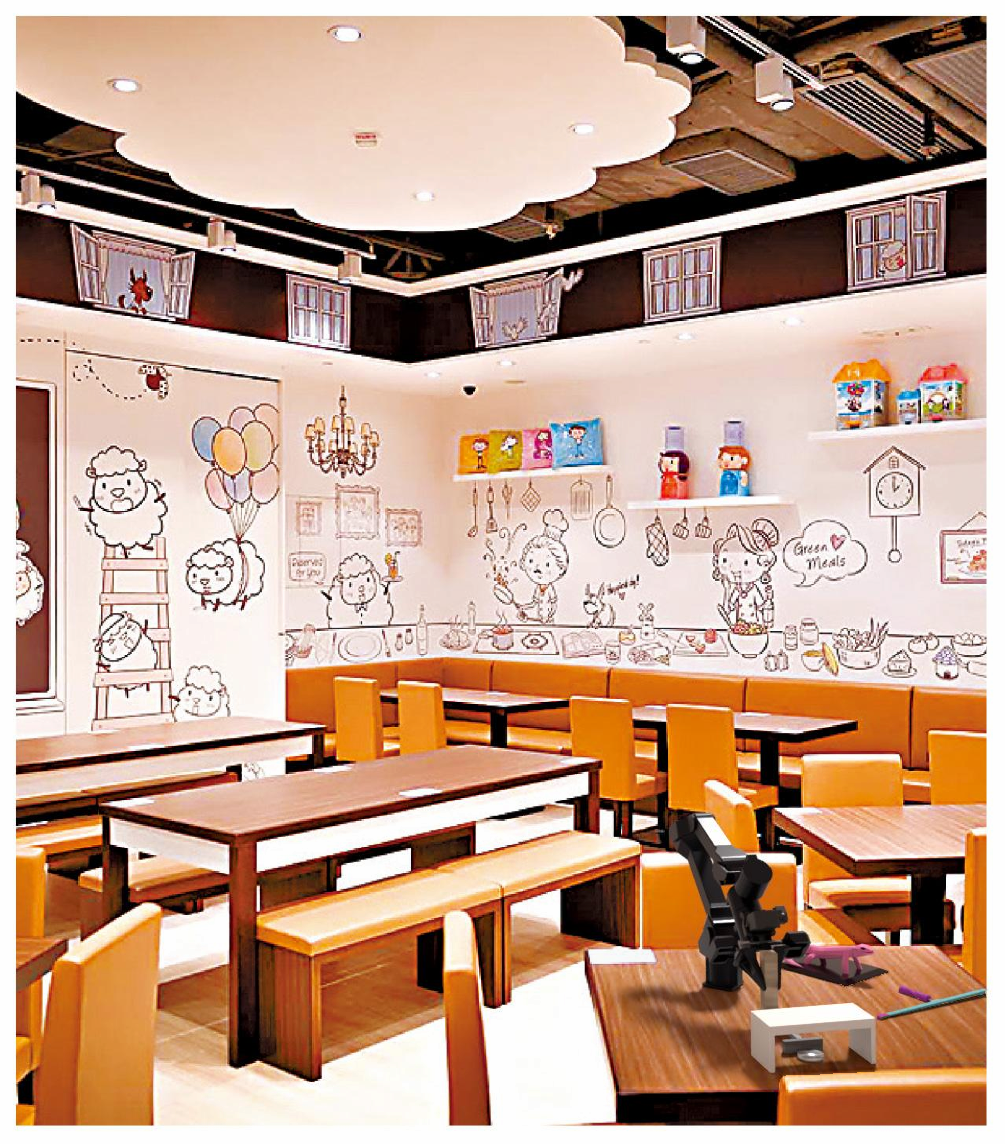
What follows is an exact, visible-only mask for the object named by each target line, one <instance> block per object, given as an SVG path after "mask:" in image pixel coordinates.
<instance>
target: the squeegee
mask: <svg viewBox="0 0 1005 1144" xmlns="http://www.w3.org/2000/svg"><path fill="white" fill-rule="evenodd" d="M985 991H986V988H981V989H976V990H972V991H968V992H964V993H961V994H956V995H953V996H949V997H945V998H941V999H939V998H937V999H932V996H931V995H929V994H926V993H921V992H919V991H916V990H912V989H911V988H909V987H907V986H904V985H900V986H899V988H898V992H899V993H900V992H901V994H903V995H906V996H908V995H910V996H909V997H912V996H913V997H912V998H915V999H917V998H919V999H920V1001H922V1000H923V1001H922V1002H924V1001H925V1002H924V1003H920V1004H917V1005H912V1006H909V1007H905V1008H901V1009H897V1010H894V1011H893V1010H892V1011H888V1012H885V1013H880V1014H877V1015H876V1019H877V1018H878V1019H877V1020H881V1021H882V1020H883V1019H888V1018H889V1017H893V1016H894V1017H895V1016H896V1015H898V1014H899V1015H901V1014H900V1013H903V1014H907V1013H911V1011H912V1012H916V1011H919V1010H918V1009H921V1010H925V1009H928V1008H927V1007H929V1008H932V1007H931V1006H934V1007H937V1006H936V1005H938V1006H941V1005H940V1004H942V1003H946V1002H951V1003H954V1002H953V1001H955V1002H957V1001H956V1000H959V999H962V998H967V997H970V996H974V995H981V994H982V996H984V995H983V994H985ZM919 999H918V1000H919ZM926 1001H927V1002H926ZM924 1008H925V1009H924ZM915 1010H916V1011H915ZM887 1017H888V1018H887Z"/></svg>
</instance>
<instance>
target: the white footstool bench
mask: <svg viewBox="0 0 1005 1144" xmlns="http://www.w3.org/2000/svg"><path fill="white" fill-rule="evenodd" d="M876 1028H877V1027H876V1017H875V1016H873V1015H872V1014H870V1013H868V1012H867V1011H866V1010H863V1008H861V1007H859V1006H858V1005H856V1004H855V1003H853V1002H850V1003H849V1002H848V1003H837V1004H836V1003H834V1004H821V1005H810V1006H797V1007H796V1006H794V1007H783V1008H782V1007H781V1008H778V1009H768V1010H761V1009H759V1010H750V1053H751V1054H750V1055H751V1057H752V1058H754V1059H755V1060H756V1061H757V1062H758V1063H759V1064H760V1065H761V1066H762V1067H764V1068H765V1069H766V1070H767V1071H768V1073H770V1074H774V1073H776V1048H775V1047H776V1041H775V1036H786V1035H787V1036H788V1034H798V1035H800V1034H801V1035H802V1034H810V1033H823V1032H833V1031H834V1032H836V1031H845V1030H847V1031H848V1047H849V1049H851V1050H852V1051H854V1052H855V1053H856V1054H858V1055H859V1056H860V1057H862V1058H863V1059H864V1060H866V1062H867V1061H868V1063H870V1064H871V1065H875V1064H877V1037H876V1036H877V1035H876V1034H877V1033H876Z"/></svg>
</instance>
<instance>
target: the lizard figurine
mask: <svg viewBox="0 0 1005 1144" xmlns="http://www.w3.org/2000/svg"><path fill="white" fill-rule="evenodd" d="M870 955H871V956H872V955H875V952H874V949H873V947H870V945H869V944H866V943H865V944H864V943H861V944H858V945H849V946H848V945H826V946H820V945H816V944H810V946H809V947H808V949H807V951H806V952H805V954H804V956H803V957H801V958H796V959H786V958H784V960H783V962H782V967H781V970H782V969H783V970H786V971H789V972H793V973H796V974H800V975H803V976H807V977H810V978H814V979H818V980H821V981H824V980H825V982H828V983H831V982H832V983H831V984H835V983H836V984H835V985H838V984H842V985H844V986H843V987H845V986H848V987H850V986H849V985H851V984H854V985H856V984H855V983H857V982H860V981H862V982H864V981H863V980H865V981H868V980H870V978H871V979H873V978H872V977H874V978H876V977H875V976H877V977H879V976H882V975H881V974H883V975H885V974H884V973H886V974H889V973H888V972H890V971H889V970H886V969H884V968H881V967H878V966H874V965H871V964H866V963H863V962H860V959H859V958H861V957H866V956H870ZM850 958H851V959H852V960H851V959H850ZM867 979H868V980H867ZM860 983H861V982H860ZM857 984H858V983H857ZM842 985H841V986H842ZM851 986H852V985H851Z"/></svg>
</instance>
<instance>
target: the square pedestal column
mask: <svg viewBox="0 0 1005 1144" xmlns="http://www.w3.org/2000/svg"><path fill="white" fill-rule="evenodd" d="M759 966H760V969H761V971H762V974H763V977H764V980H765V983H766V987H767V989H766V991H763V990H762V989H761V988H760V987H759V988H760V990H759V991H760V1010H768V1009H779V990H778V959H777V953H776V952H775V951H773V950H762V951H760V952H759ZM787 1036H788V1037H789V1039H782V1041H781V1042H782V1044H781V1046H782V1053H784V1054H786V1055H787V1054H797V1051H798V1050H801V1049H815V1050H819V1051H821V1052H823V1051H824V1038H822V1036H814V1037H812V1036H811V1037H802V1036H801V1035H800V1034H788V1035H787Z"/></svg>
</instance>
